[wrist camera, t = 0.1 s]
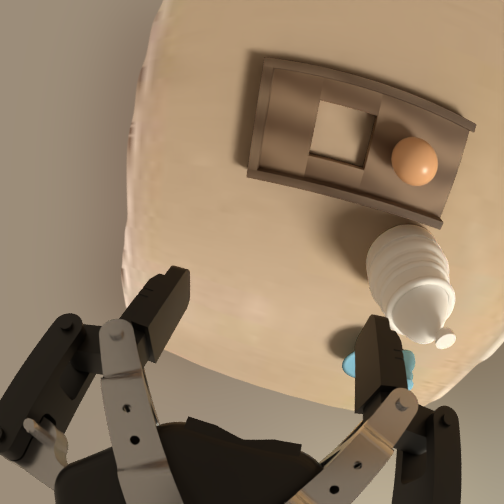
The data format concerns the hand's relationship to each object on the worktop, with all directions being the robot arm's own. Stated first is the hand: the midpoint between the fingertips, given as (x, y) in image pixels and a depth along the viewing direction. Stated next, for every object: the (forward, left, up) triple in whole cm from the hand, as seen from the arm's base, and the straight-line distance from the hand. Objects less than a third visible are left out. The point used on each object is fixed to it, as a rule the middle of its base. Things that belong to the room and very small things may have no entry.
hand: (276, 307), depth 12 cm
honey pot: (+12, +19, -30) cm, 37 cm away
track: (-4, +7, -29) cm, 30 cm away
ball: (-4, +13, -25) cm, 28 cm away
